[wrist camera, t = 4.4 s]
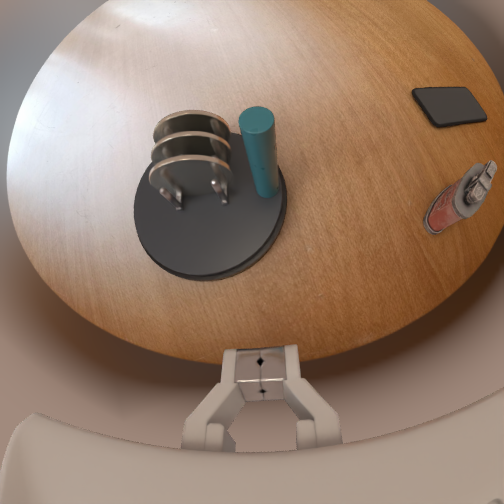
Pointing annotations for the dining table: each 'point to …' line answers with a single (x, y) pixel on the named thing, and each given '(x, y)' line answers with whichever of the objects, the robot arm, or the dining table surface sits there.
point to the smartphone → (449, 105)
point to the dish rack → (209, 191)
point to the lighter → (460, 198)
